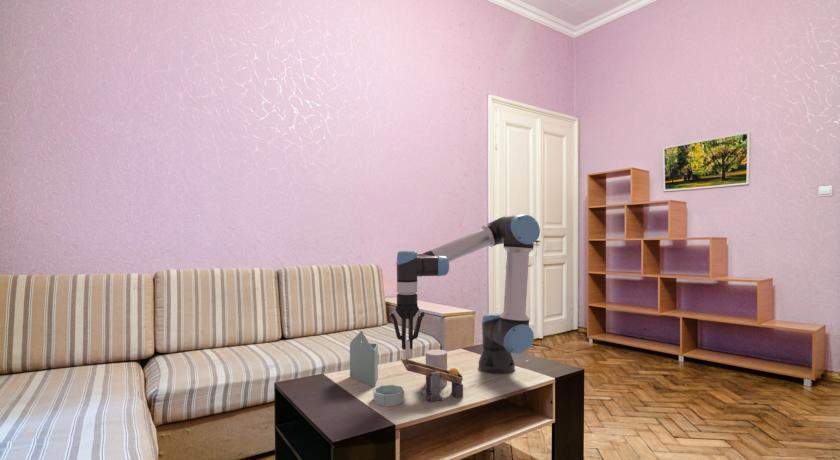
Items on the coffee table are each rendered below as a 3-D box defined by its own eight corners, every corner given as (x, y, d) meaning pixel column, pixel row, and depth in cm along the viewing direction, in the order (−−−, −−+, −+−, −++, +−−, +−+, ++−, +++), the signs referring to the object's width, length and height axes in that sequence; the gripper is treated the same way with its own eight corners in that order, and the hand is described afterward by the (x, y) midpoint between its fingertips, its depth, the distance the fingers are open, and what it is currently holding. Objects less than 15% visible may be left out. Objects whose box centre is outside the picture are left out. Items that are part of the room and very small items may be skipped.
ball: (455, 377, 158) (458, 367, 159) (458, 380, 155) (461, 370, 155) (446, 375, 158) (449, 365, 158) (449, 378, 154) (451, 368, 154)
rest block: (458, 391, 160) (458, 379, 160) (463, 397, 154) (463, 384, 154) (451, 391, 159) (451, 379, 159) (456, 397, 153) (456, 385, 153)
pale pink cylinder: (445, 388, 163) (445, 355, 163) (423, 386, 165) (423, 354, 165) (448, 381, 171) (448, 350, 171) (427, 379, 173) (427, 349, 173)
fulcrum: (436, 390, 160) (435, 364, 160) (443, 401, 150) (443, 373, 150) (422, 391, 159) (422, 365, 159) (428, 402, 149) (428, 374, 149)
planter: (390, 382, 170) (389, 331, 170) (373, 387, 164) (373, 334, 165) (365, 372, 182) (365, 324, 182) (349, 377, 177) (349, 327, 177)
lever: (450, 372, 167) (452, 365, 167) (460, 384, 154) (463, 376, 154) (400, 359, 163) (402, 352, 163) (407, 370, 150) (409, 362, 150)
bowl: (400, 393, 157) (400, 384, 157) (405, 404, 148) (405, 393, 148) (372, 396, 155) (372, 386, 155) (375, 406, 146) (375, 396, 146)
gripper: (422, 291, 166) (422, 354, 166) (388, 292, 163) (388, 356, 163) (426, 294, 159) (426, 359, 158) (390, 295, 156) (390, 362, 156)
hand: (407, 358), depth 161 cm, fingers closed
